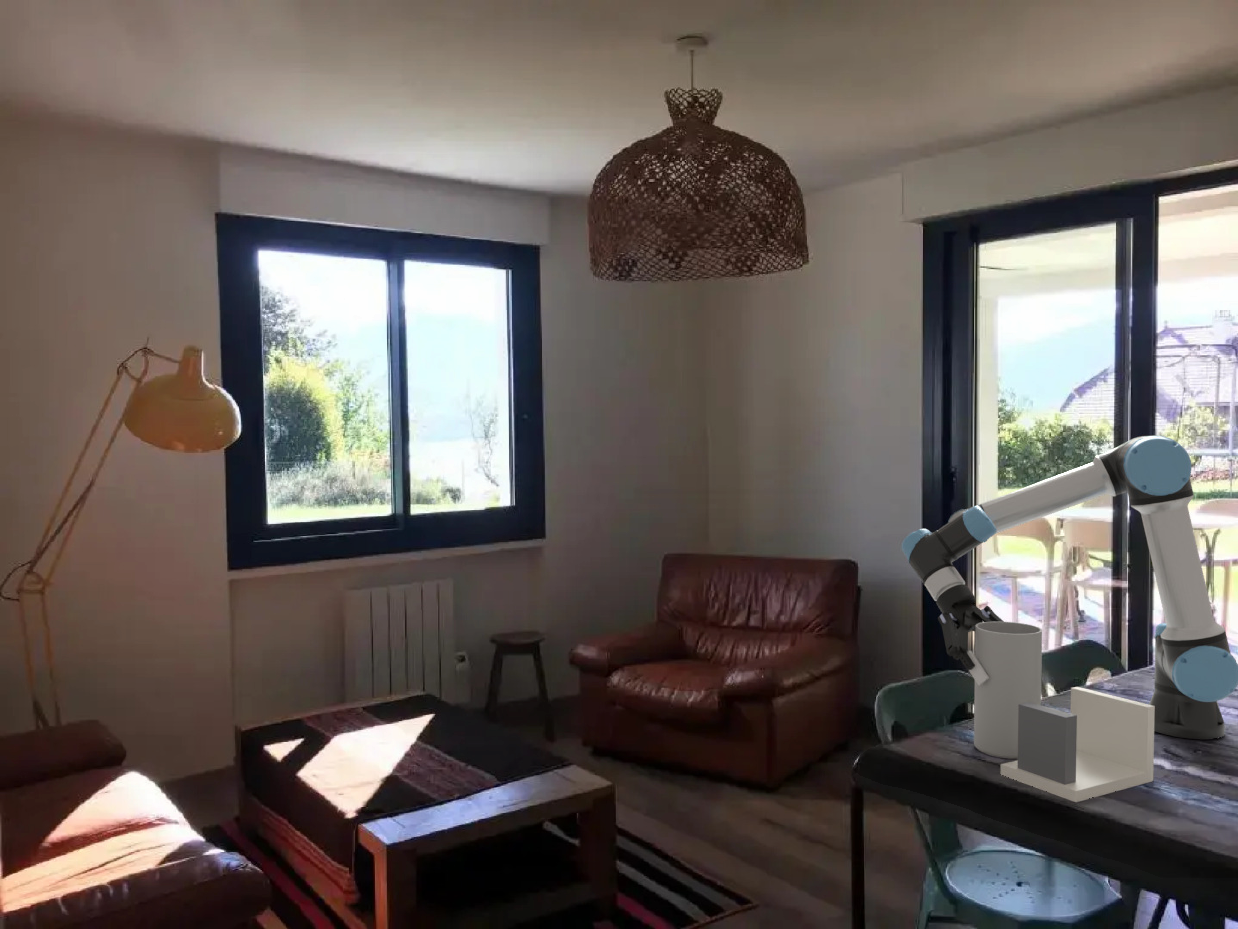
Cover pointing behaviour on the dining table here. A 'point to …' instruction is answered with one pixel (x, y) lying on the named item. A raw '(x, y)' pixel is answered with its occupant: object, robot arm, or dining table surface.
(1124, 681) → the dining table surface
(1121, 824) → the dining table surface
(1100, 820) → the dining table surface
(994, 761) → the dining table surface
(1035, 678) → the cylinder vase
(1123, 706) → the white corner bracket
